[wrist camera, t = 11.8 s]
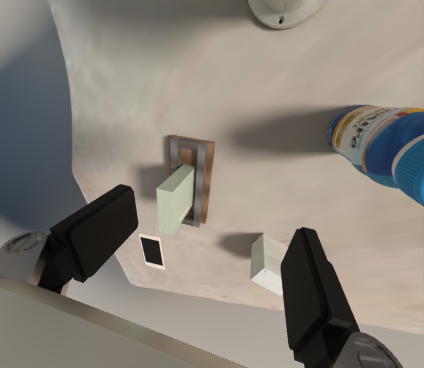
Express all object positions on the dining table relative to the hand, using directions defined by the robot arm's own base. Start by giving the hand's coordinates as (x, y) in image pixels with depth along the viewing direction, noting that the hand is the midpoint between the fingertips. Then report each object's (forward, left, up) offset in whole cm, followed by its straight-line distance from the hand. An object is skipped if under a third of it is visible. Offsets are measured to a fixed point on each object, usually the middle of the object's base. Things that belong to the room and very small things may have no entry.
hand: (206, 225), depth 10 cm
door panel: (+14, -11, -27) cm, 32 cm away
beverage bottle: (-3, +18, -28) cm, 34 cm away
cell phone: (+45, -24, -29) cm, 59 cm away
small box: (+28, +12, -29) cm, 42 cm away
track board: (+14, -11, -28) cm, 33 cm away
